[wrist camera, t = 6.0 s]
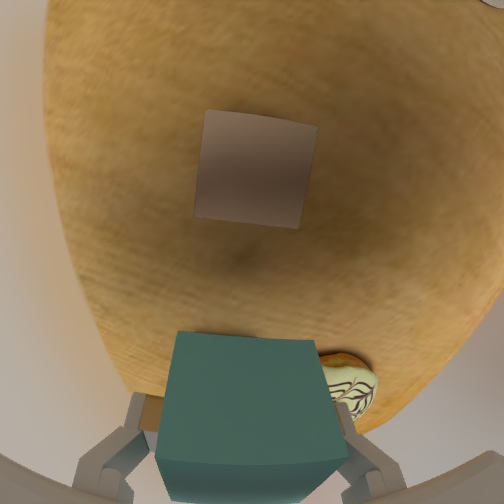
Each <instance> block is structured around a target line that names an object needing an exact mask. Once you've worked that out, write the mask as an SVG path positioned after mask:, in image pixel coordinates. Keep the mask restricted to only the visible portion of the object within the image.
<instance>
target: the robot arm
mask: <svg viewBox="0 0 504 504" xmlns="http://www.w3.org/2000/svg"><path fill="white" fill-rule="evenodd" d="M482 1H484V2H486V3H487V4H489V5H491V6H494V7H496V8H504V0H482ZM163 402H164V397H161V396H155V395H149V394H144V393H139V392H134V393H133V395H132V397H131V401H130V405H129V408H128V412H127V416H126V420H125V424H124V427H122V426H120V427H118V428H117V429H116V430H115V431H114V432H112V433H111V434H110V435H108V436H107V437H106V438H105V439H103V440H102V441H101V442H100V443H98V444H97V445H96V446H95V447H93V448H92V449H91V450H90V451H88V452H87V453H86V454H84V455H83V456H82V457H81V458H80V459H79V463H78V466H77V470H76V474H75V477H74V481H73V485H72V487H69V486H67V485H64V484H62V483H59V482H57V481H54V480H52V479H49V478H47V477H45V476H43V475H40V474H38V473H36V472H34V471H32V470H30V469H28V468H26V467H24V466H22V465H20V464H18V463H16V462H14V461H13V460H11V459H9V458H7V457H5V456H4V455H2V454H0V504H133V497H134V491H133V490H132V489H131V487H130V486H129V485H128V483H127V482H126V480H125V478H126V477H127V476H128V475H129V474H130V473H131V472H132V471H133V470H134V468H135V467H136V466H137V465H138V464H139V463H140V462H141V461H142V460H143V459H144V458H145V457H146V456H147V455H148V454H149V451H151V452H155V451H156V444H157V438H158V431H159V425H160V419H161V414H162V408H163ZM334 406H335V410H336V413H337V416H338V420H339V423H340V426H341V430H342V433H343V437H344V440H345V443H346V447H347V450H348V454H349V458H348V459H347V460H346V461H345V462H344V463H343V464H342V465H341V466H340V467H339V468H338V469H337V471H338V472H339V473H340V474H341V475H342V476H343V477H344V478H345V479H346V480H347V481H348V482H349V483H350V484H351V486H350V487H349V488H347V489H346V490H345V491H343V492H342V494H341V496H342V501H343V504H504V456H502V455H500V454H499V453H497V452H495V451H492V450H489V451H486V452H484V453H482V454H481V455H479V456H477V457H475V458H474V459H472V460H470V461H468V462H466V463H465V464H462V465H460V466H458V467H456V468H454V469H452V470H450V471H448V472H446V473H444V474H442V475H440V476H437V477H435V478H432V479H430V480H428V481H426V482H423V483H420V484H418V485H415V486H412V487H410V488H407V486H406V483H405V481H404V478H403V475H402V472H401V470H400V467H399V464H398V463H397V462H395V461H394V460H393V459H392V458H390V457H389V456H388V455H387V454H385V453H384V452H383V451H382V450H380V449H379V448H378V447H377V446H375V445H374V444H373V443H371V442H370V441H369V440H368V439H367V438H365V437H364V436H363V435H362V434H357V431H356V428H355V425H354V422H353V419H352V416H351V414H350V411H349V408H348V405H347V403H346V402H336V403H334Z"/></svg>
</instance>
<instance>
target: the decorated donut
mask: <svg viewBox="0 0 504 504" xmlns="http://www.w3.org/2000/svg"><path fill="white" fill-rule="evenodd" d="M319 359H320V362H321V365H322V368H323V371H324V374H325V378H326V381H327V384H328V387H329V390H330V393H331V397H332V400H333V403H336V402H346V403H347V405H348V408H349V411H350V414H351V416H352V419H353V422H355V421H356V420H358V419H359V418H360V417H361V416H362V415H363V414H364V413H365V411H366V410H368V408H369V407H370V406H371V404H372V402H373V398H374V396H375V394H376V391H377V387H378V377H377V375H376V374H375V373H373V372H372V371H371V370H370V369H369V368H368V366H367V365H365V364H364V362H362V361H361V360H359V359H358V358H356V357H354V356H352V355H350V354H346V353H342V352H341V353H337V354H335V355H326V356H322V357H319Z"/></svg>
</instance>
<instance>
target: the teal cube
mask: <svg viewBox="0 0 504 504" xmlns="http://www.w3.org/2000/svg"><path fill="white" fill-rule="evenodd" d="M348 458H349V454H348V450H347V447H346V443H345V440H344V437H343V433H342V430H341V426H340V423H339V420H338V416H337V413H336V410H335V406H334V403H333V400H332V397H331V393H330V390H329V387H328V384H327V381H326V378H325V374H324V371H323V368H322V365H321V362H320V359H319V356H318V352H317V349H316V346H315V343H314V340H288V339H267V338H251V337H237V336H225V335H214V334H204V333H194V332H185V331H178V333H177V337H176V342H175V347H174V351H173V356H172V361H171V366H170V371H169V376H168V381H167V386H166V392H165V397H164V402H163V408H162V414H161V419H160V425H159V431H158V438H157V444H156V451H155V459H156V462H157V465H158V468H159V471H160V473H161V476H162V478H163V481H164V484H165V486H166V489H167V491H168V494H169V496H170V499H171V500H172V501H178V502H187V503H196V504H288V503H289V504H290V503H299V502H301V501H302V500H303V499H304V498H306V497H307V496H308V495H309V494H310V493H312V491H314V490H315V489H316V488H317V487H318V486H319V485H321V484H322V483H323V482H324V481H325V480H326V479H327V478H328V477H329V476H330V475H331V474H333V473H334V472H335V471H336V470H337V469H338V468H339V467H340V466H341V465H342V464H343V463H344V462H345V461H346V460H347V459H348Z"/></svg>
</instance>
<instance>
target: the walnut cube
mask: <svg viewBox="0 0 504 504" xmlns="http://www.w3.org/2000/svg"><path fill="white" fill-rule="evenodd" d="M318 127H319V126H315V125H310V124H305V123H301V122H295V121H290V120H285V119H279V118H273V117H267V116H261V115H254V114H247V113H239V112H231V111H221V110H211V109H206V111H205V118H204V125H203V133H202V140H201V149H200V157H199V166H198V175H197V185H196V196H195V207H194V218H203V219H212V220H222V221H231V222H239V223H248V224H257V225H265V226H273V227H281V228H289V229H297V230H299V226H300V222H301V217H302V212H303V207H304V202H305V197H306V192H307V187H308V182H309V177H310V171H311V166H312V161H313V155H314V150H315V144H316V138H317V133H318Z"/></svg>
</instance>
